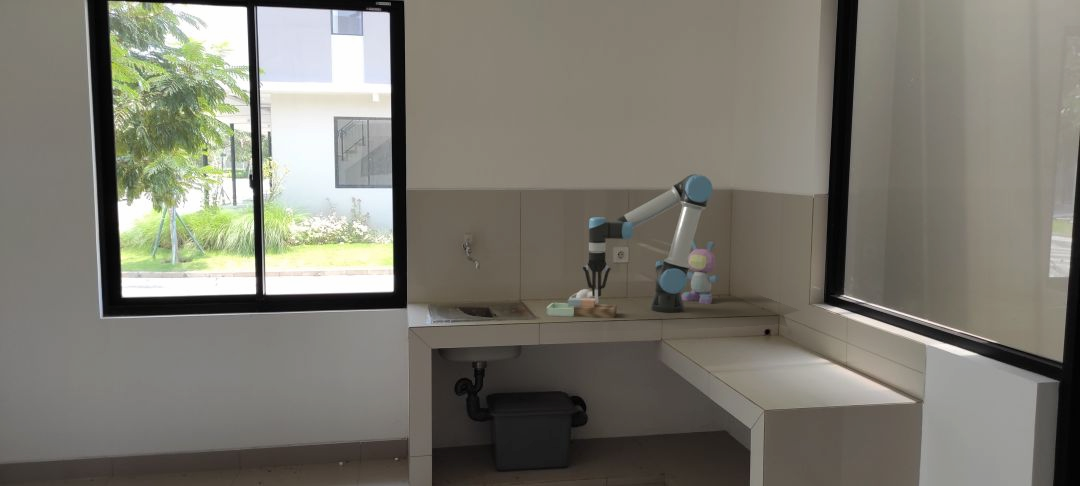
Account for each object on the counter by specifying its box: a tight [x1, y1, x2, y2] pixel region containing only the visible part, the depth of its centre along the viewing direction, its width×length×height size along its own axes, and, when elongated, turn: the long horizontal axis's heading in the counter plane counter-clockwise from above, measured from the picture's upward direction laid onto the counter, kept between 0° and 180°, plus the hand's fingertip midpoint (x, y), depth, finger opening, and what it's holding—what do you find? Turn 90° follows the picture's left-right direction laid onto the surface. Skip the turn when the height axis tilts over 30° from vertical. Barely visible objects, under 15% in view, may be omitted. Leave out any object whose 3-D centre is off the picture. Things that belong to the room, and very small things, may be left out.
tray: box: [545, 302, 575, 318], centre depth 360 cm, size 12×13×4 cm
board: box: [573, 303, 618, 319], centre depth 357 cm, size 18×10×4 cm, turn 76°
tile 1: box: [567, 296, 583, 307], centre depth 358 cm, size 6×6×3 cm
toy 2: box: [681, 240, 720, 305], centre depth 390 cm, size 18×11×30 cm, turn 43°
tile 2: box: [581, 298, 596, 307], centre depth 357 cm, size 6×6×3 cm
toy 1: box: [570, 288, 595, 298], centre depth 376 cm, size 13×9×15 cm
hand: (596, 303), depth 356 cm, fingers closed
